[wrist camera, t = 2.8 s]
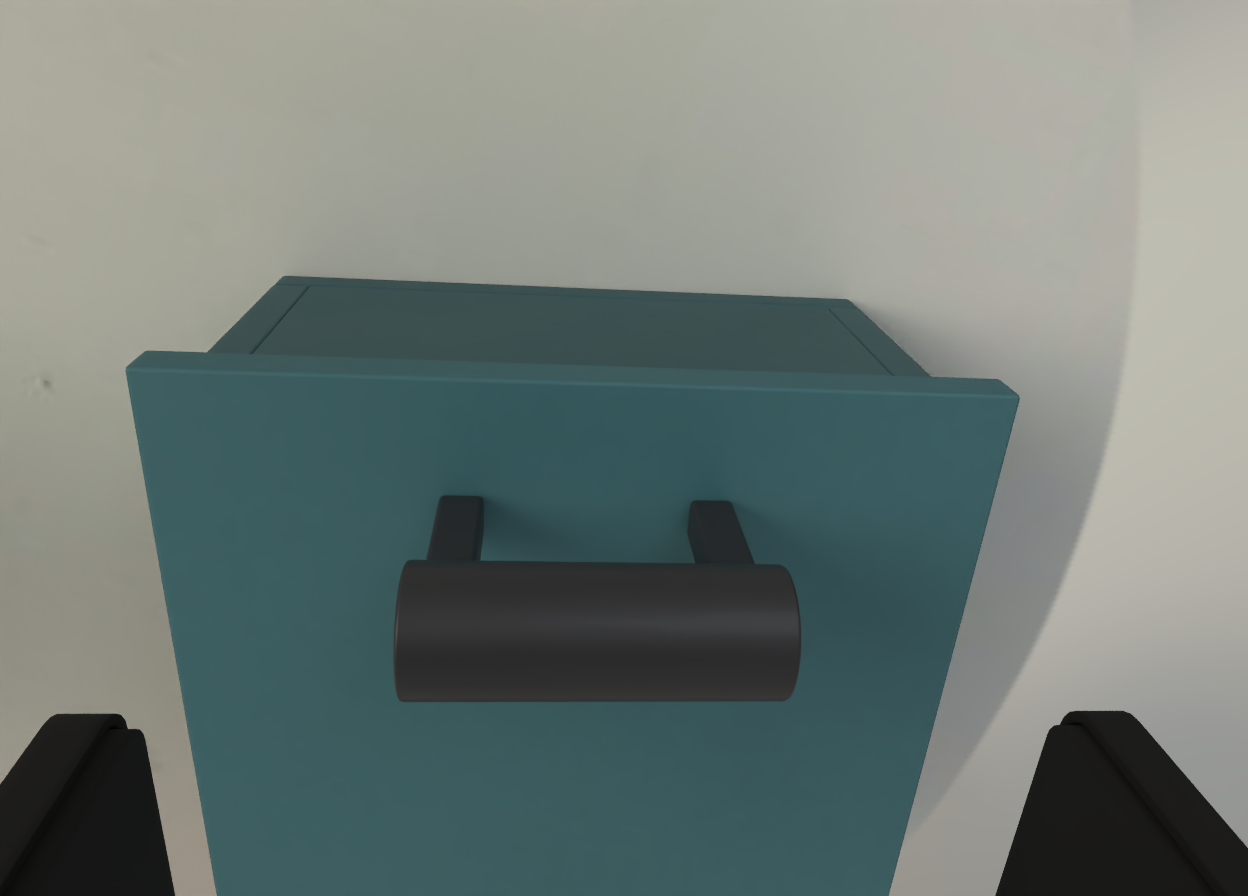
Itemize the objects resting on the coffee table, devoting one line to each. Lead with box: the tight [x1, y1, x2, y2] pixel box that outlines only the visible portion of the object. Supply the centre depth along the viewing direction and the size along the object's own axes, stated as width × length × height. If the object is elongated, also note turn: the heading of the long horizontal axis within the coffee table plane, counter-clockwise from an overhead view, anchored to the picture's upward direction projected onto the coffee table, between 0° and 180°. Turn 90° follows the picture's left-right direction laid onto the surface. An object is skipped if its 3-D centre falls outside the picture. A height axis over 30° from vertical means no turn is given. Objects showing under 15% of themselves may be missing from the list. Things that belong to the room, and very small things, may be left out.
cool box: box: [207, 276, 931, 377], centre depth 22 cm, size 16×14×8 cm
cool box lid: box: [126, 351, 1020, 896], centre depth 16 cm, size 16×14×5 cm
